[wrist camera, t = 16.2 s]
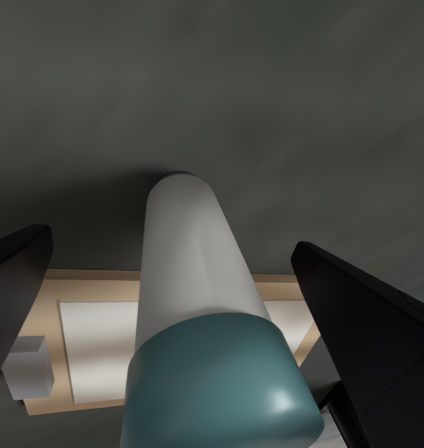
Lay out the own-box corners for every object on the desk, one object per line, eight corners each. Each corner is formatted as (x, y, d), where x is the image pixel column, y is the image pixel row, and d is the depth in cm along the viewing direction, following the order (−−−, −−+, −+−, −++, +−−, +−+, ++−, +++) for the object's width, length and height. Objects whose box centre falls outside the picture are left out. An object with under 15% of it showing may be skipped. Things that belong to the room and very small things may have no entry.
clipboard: (282, 378, 25) (290, 398, 24) (33, 403, 19) (22, 431, 18) (346, 275, 18) (363, 294, 17) (-11, 267, 12) (-34, 294, 11)
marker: (206, 227, 14) (283, 474, 5) (143, 222, 13) (115, 509, 4) (220, 168, 12) (361, 393, 4) (147, 157, 11) (118, 423, 3)
